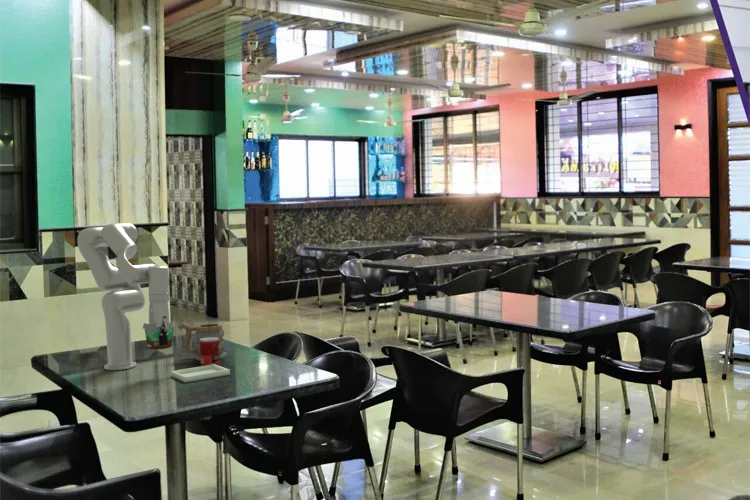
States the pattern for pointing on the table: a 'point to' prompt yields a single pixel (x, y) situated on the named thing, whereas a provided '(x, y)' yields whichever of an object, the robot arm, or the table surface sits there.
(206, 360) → the canned food
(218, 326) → the tankard
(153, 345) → the food container
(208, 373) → the tray
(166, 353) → the table surface
